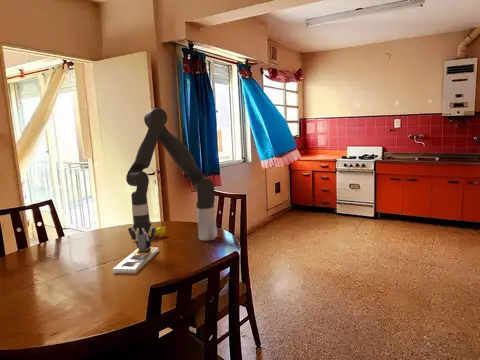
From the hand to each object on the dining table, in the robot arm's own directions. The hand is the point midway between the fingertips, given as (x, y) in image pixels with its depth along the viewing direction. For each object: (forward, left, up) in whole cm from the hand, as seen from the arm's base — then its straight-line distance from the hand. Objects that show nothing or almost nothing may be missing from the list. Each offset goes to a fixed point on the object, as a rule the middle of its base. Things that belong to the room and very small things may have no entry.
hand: (144, 247), depth 167 cm
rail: (0, +8, -4) cm, 9 cm away
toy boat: (+8, -25, -4) cm, 27 cm away
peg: (0, 0, -3) cm, 3 cm away
